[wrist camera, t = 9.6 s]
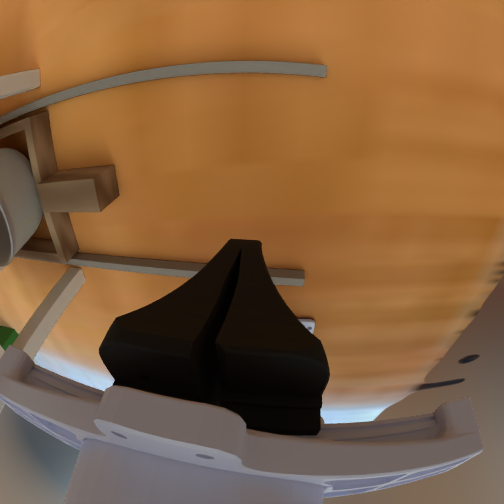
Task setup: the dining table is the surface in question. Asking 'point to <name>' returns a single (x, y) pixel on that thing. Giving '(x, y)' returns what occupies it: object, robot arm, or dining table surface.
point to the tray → (60, 190)
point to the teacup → (16, 203)
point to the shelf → (74, 277)
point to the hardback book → (6, 345)
